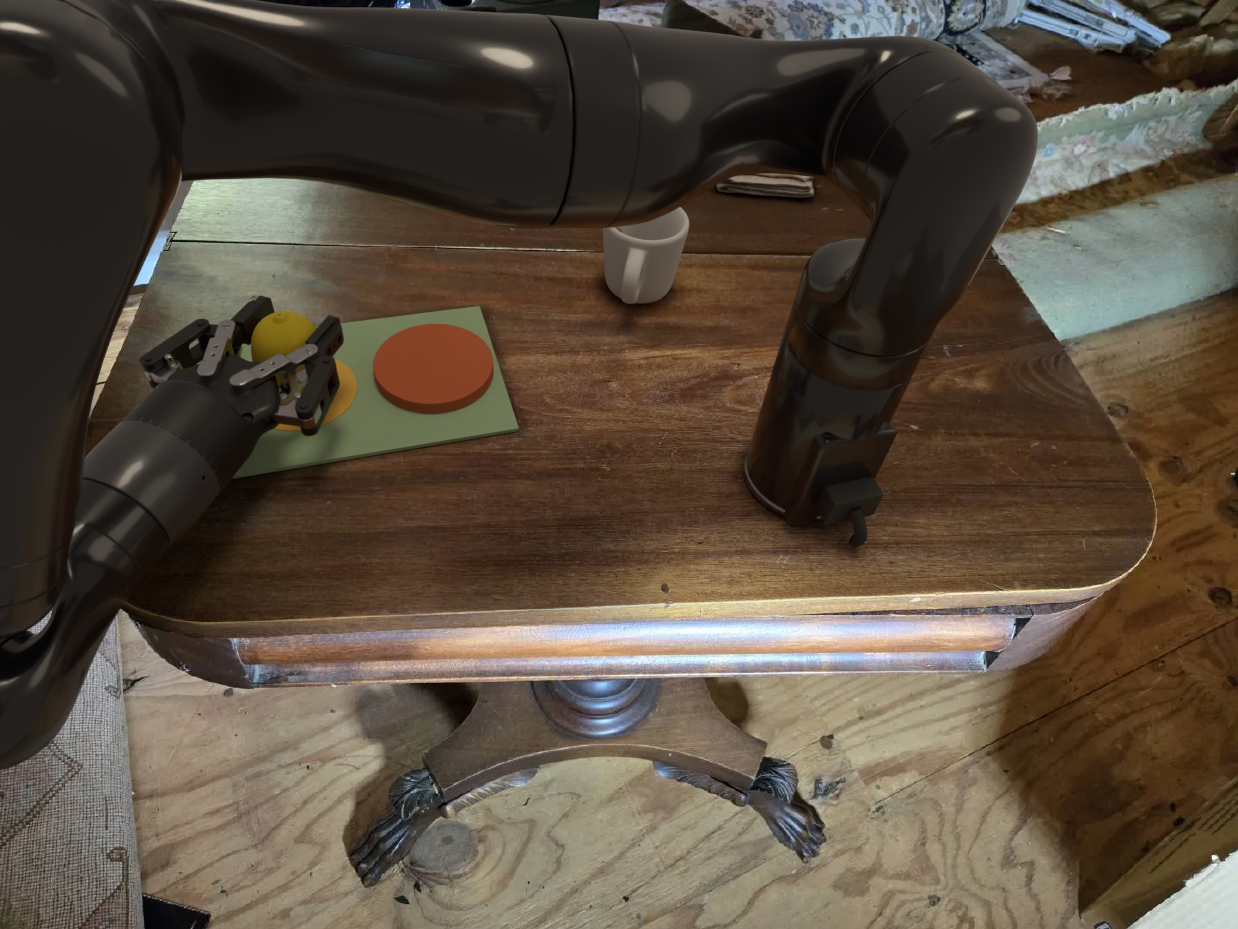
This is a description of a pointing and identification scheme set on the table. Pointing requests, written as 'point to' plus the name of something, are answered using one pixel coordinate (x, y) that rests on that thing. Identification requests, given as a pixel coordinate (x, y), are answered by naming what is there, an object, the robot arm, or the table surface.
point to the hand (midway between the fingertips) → (302, 315)
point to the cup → (644, 257)
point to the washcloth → (769, 185)
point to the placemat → (399, 392)
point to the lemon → (280, 336)
